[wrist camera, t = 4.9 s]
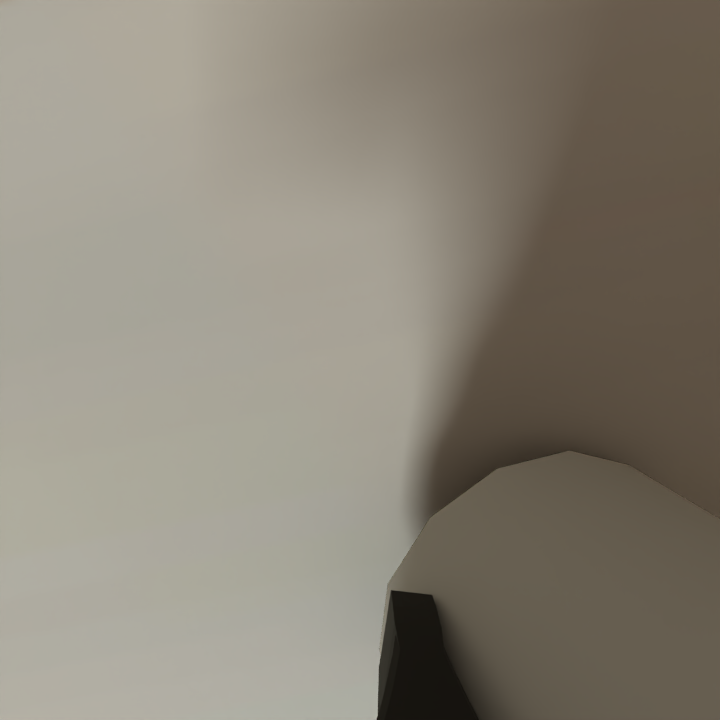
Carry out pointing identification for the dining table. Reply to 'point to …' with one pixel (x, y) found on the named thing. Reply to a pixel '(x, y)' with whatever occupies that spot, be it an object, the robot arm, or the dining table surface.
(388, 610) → the robot arm
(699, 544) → the grey cylinder
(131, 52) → the dining table surface
